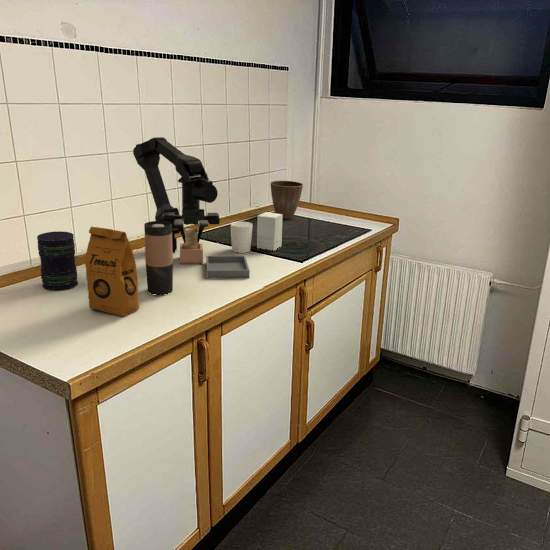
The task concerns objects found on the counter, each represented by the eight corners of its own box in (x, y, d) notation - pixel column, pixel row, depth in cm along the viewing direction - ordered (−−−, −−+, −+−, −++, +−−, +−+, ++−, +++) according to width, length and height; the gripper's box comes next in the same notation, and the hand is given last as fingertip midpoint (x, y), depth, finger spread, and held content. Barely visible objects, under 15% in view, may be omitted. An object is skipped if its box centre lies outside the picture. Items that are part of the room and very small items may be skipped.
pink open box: (180, 264, 179) (179, 249, 177) (180, 257, 186) (180, 243, 184) (202, 263, 180) (202, 249, 178) (202, 257, 187) (202, 243, 186)
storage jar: (41, 281, 159) (36, 232, 154) (76, 277, 163) (72, 230, 158) (42, 292, 150) (36, 241, 145) (79, 289, 154) (75, 239, 149)
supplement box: (282, 246, 204) (283, 214, 199) (273, 251, 197) (275, 217, 193) (264, 243, 207) (265, 211, 202) (256, 248, 200) (257, 215, 196)
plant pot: (299, 214, 256) (301, 181, 251) (302, 221, 242) (304, 186, 237) (268, 213, 255) (269, 180, 250) (269, 221, 241) (271, 185, 236)
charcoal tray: (207, 278, 167) (207, 270, 166) (206, 262, 181) (206, 255, 180) (249, 277, 169) (249, 270, 168) (244, 262, 183) (245, 255, 182)
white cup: (253, 248, 200) (253, 222, 197) (250, 254, 193) (250, 227, 189) (232, 246, 201) (232, 220, 197) (228, 252, 193) (228, 226, 190)
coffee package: (120, 321, 135) (115, 237, 127) (83, 311, 140) (76, 229, 132) (146, 308, 143) (142, 228, 136) (110, 298, 148) (104, 221, 141)
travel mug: (178, 288, 158) (177, 222, 151) (165, 297, 151) (163, 228, 144) (155, 284, 160) (153, 219, 153) (141, 293, 153) (138, 225, 146)
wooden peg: (185, 260, 181) (185, 231, 177) (185, 256, 184) (185, 228, 181) (197, 260, 181) (197, 231, 178) (197, 256, 185) (197, 228, 182)
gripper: (160, 202, 167) (162, 250, 172) (220, 203, 170) (220, 250, 175) (162, 195, 177) (163, 240, 183) (218, 196, 180) (218, 240, 185)
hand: (191, 243), depth 181 cm, fingers closed on wooden peg, 4 cm apart
